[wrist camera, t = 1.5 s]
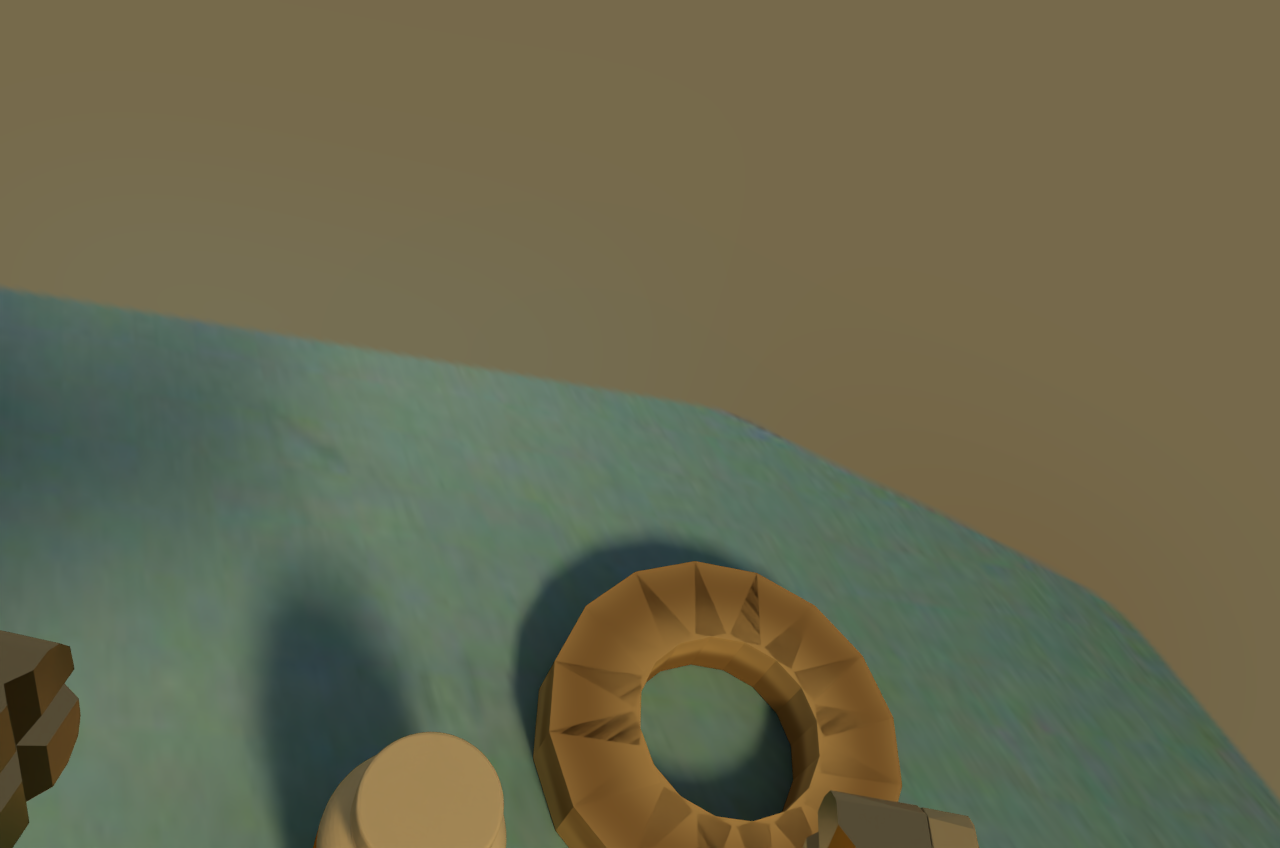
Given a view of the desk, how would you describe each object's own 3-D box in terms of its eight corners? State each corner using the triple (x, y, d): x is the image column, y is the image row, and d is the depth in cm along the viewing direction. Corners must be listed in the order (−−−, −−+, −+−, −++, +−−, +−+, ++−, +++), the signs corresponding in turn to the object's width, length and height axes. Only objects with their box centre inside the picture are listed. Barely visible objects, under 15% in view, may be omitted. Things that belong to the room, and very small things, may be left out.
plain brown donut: (468, 814, 39) (482, 788, 38) (623, 538, 49) (641, 507, 47) (813, 1015, 39) (845, 999, 37) (904, 696, 48) (932, 671, 46)
